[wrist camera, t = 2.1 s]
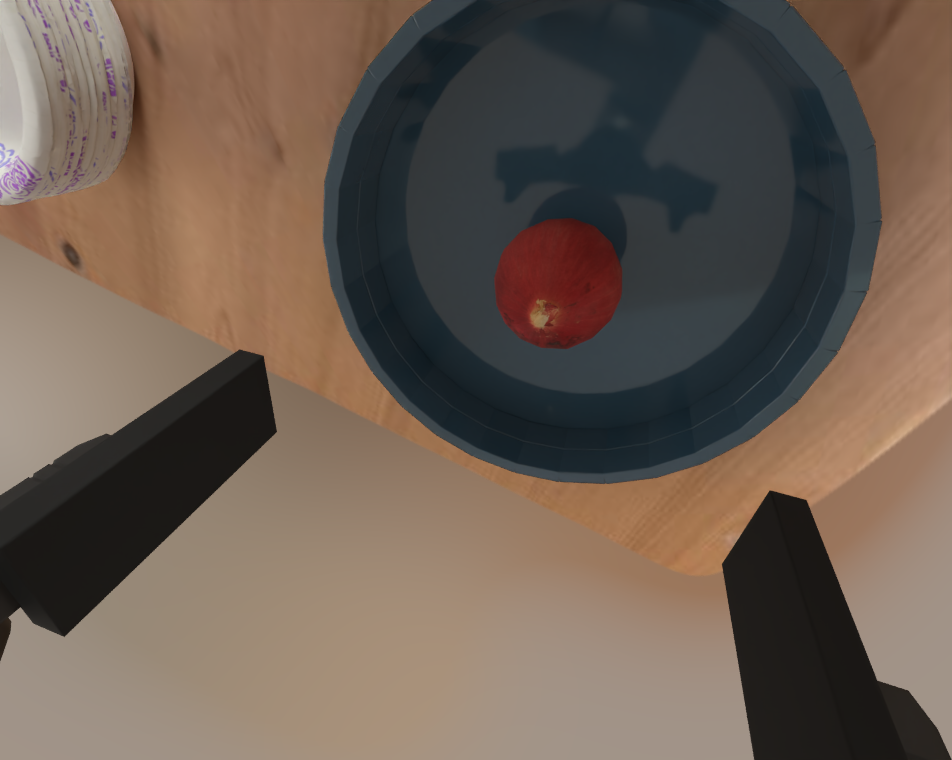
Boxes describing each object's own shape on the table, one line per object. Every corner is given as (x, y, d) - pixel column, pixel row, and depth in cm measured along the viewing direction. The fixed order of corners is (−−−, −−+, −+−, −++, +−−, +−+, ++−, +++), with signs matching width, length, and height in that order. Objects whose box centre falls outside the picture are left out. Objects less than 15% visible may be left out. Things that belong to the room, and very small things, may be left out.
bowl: (467, -165, 18) (422, -225, 14) (991, 159, 18) (1076, 179, 15) (324, 315, 32) (283, 346, 28) (623, 491, 32) (621, 543, 29)
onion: (622, 311, 25) (614, 392, 19) (517, 310, 27) (478, 383, 21) (628, 198, 23) (621, 248, 16) (510, 205, 24) (461, 253, 18)
